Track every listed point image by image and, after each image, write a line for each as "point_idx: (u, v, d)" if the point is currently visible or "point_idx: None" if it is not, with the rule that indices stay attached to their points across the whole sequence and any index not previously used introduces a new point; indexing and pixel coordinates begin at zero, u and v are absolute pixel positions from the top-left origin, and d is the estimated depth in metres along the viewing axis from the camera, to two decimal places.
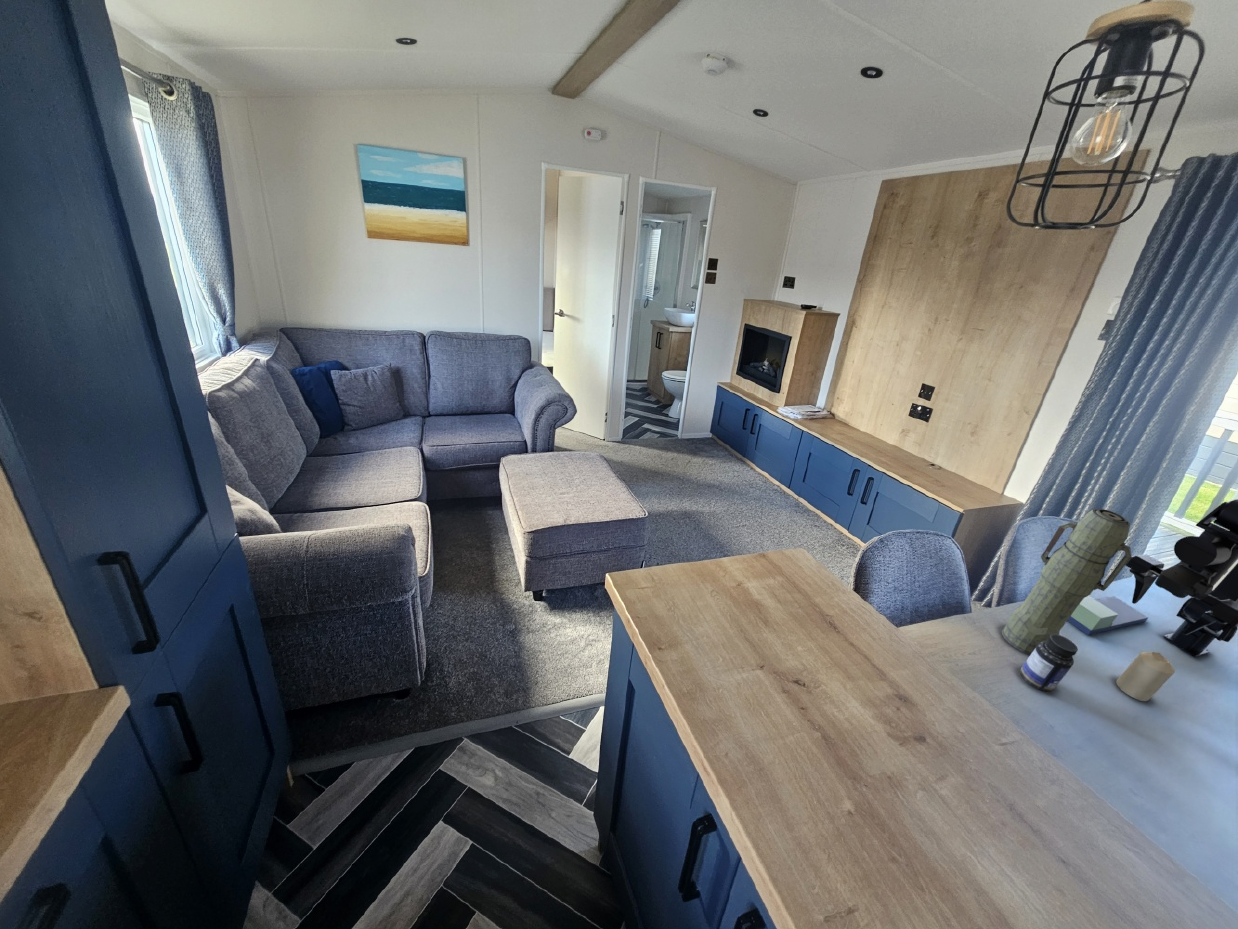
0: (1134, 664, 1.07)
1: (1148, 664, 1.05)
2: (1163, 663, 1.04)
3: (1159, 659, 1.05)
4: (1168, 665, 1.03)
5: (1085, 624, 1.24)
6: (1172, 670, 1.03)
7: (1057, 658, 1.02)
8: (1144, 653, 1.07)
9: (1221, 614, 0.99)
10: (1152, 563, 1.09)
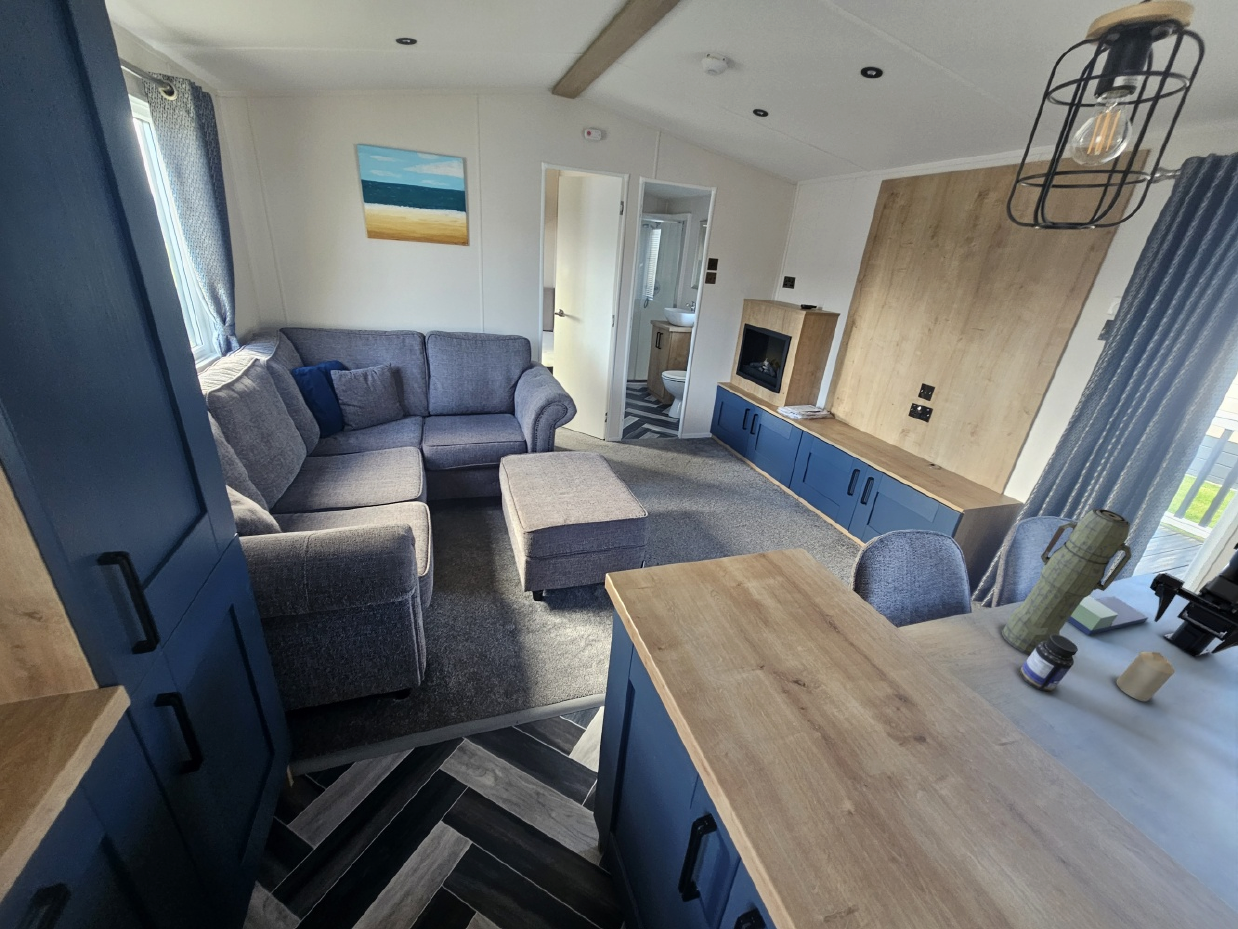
0: (1134, 664, 1.07)
1: (1148, 664, 1.05)
2: (1163, 663, 1.04)
3: (1159, 659, 1.05)
4: (1168, 665, 1.03)
5: (1085, 624, 1.24)
6: (1172, 670, 1.03)
7: (1057, 658, 1.02)
8: (1144, 653, 1.07)
9: None
10: None
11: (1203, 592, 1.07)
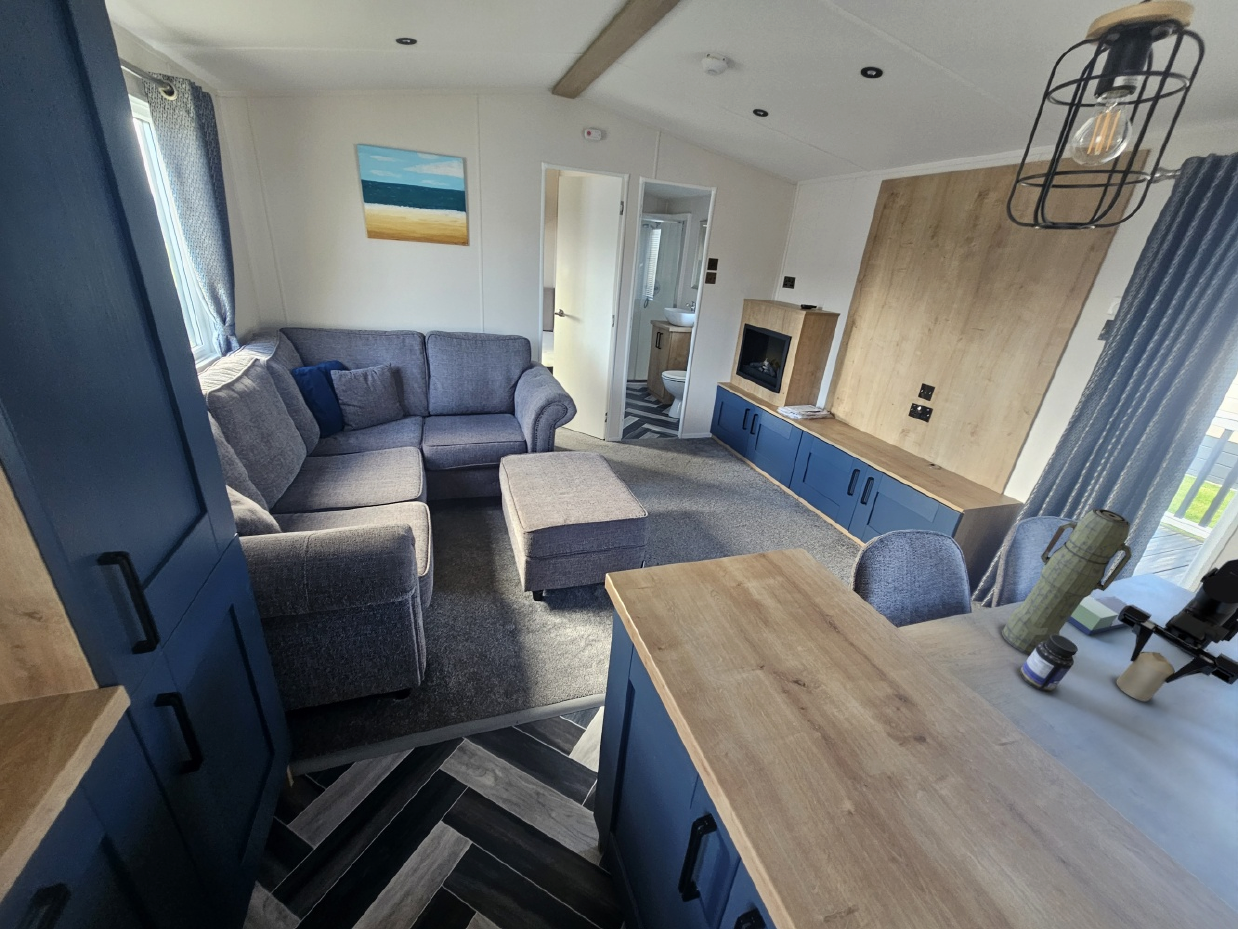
0: (1134, 664, 1.07)
1: (1148, 664, 1.05)
2: (1163, 663, 1.04)
3: (1159, 659, 1.05)
4: (1168, 665, 1.03)
5: (1085, 624, 1.24)
6: (1172, 670, 1.03)
7: (1057, 658, 1.02)
8: (1144, 653, 1.07)
9: (1227, 664, 0.99)
10: None
11: (1169, 626, 1.06)
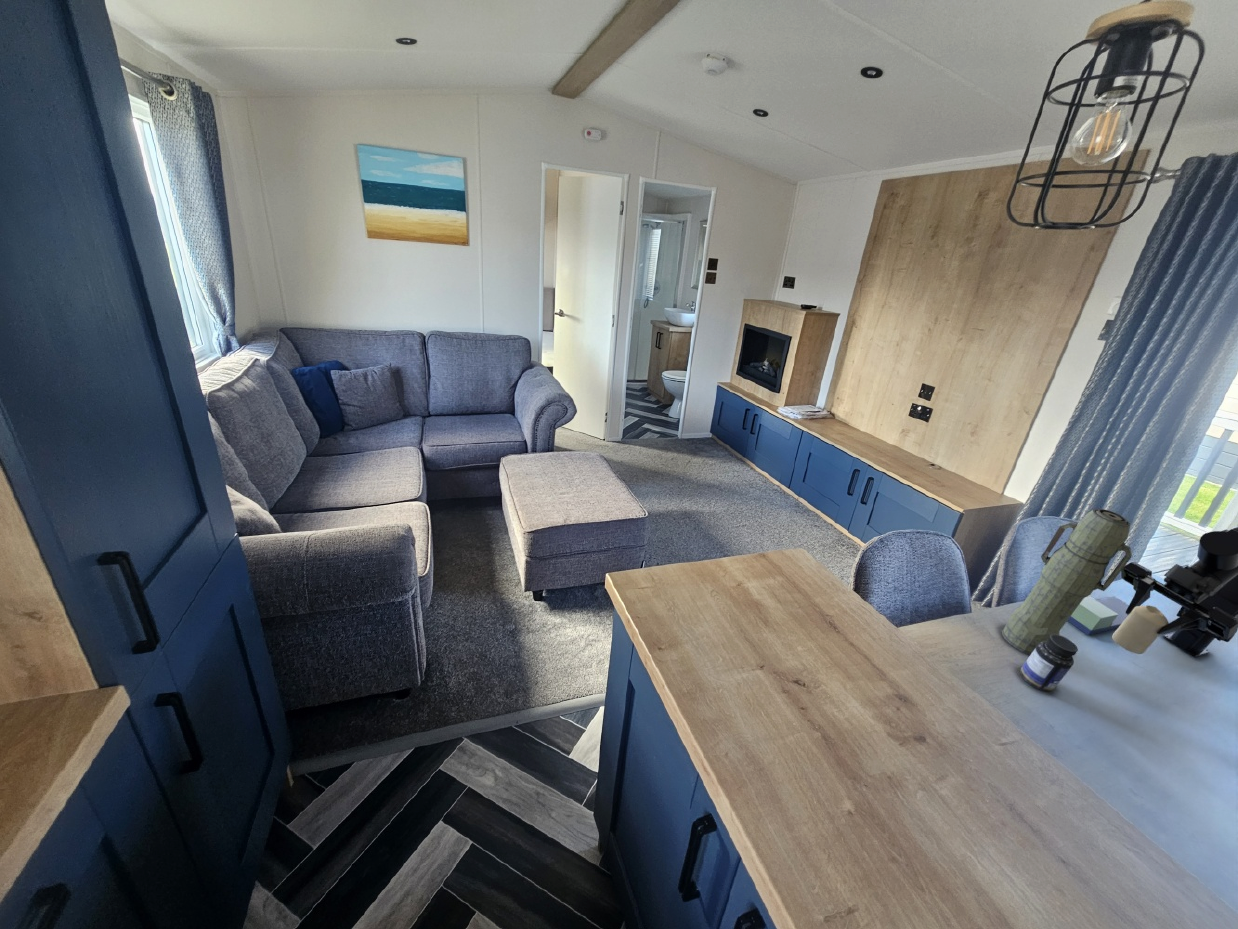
0: (1128, 617, 1.10)
1: (1140, 615, 1.08)
2: (1155, 615, 1.06)
3: (1154, 612, 1.08)
4: (1160, 617, 1.06)
5: (1085, 624, 1.24)
6: (1165, 622, 1.06)
7: (1057, 658, 1.02)
8: (1139, 606, 1.09)
9: (1219, 616, 1.00)
10: None
11: (1167, 581, 1.08)
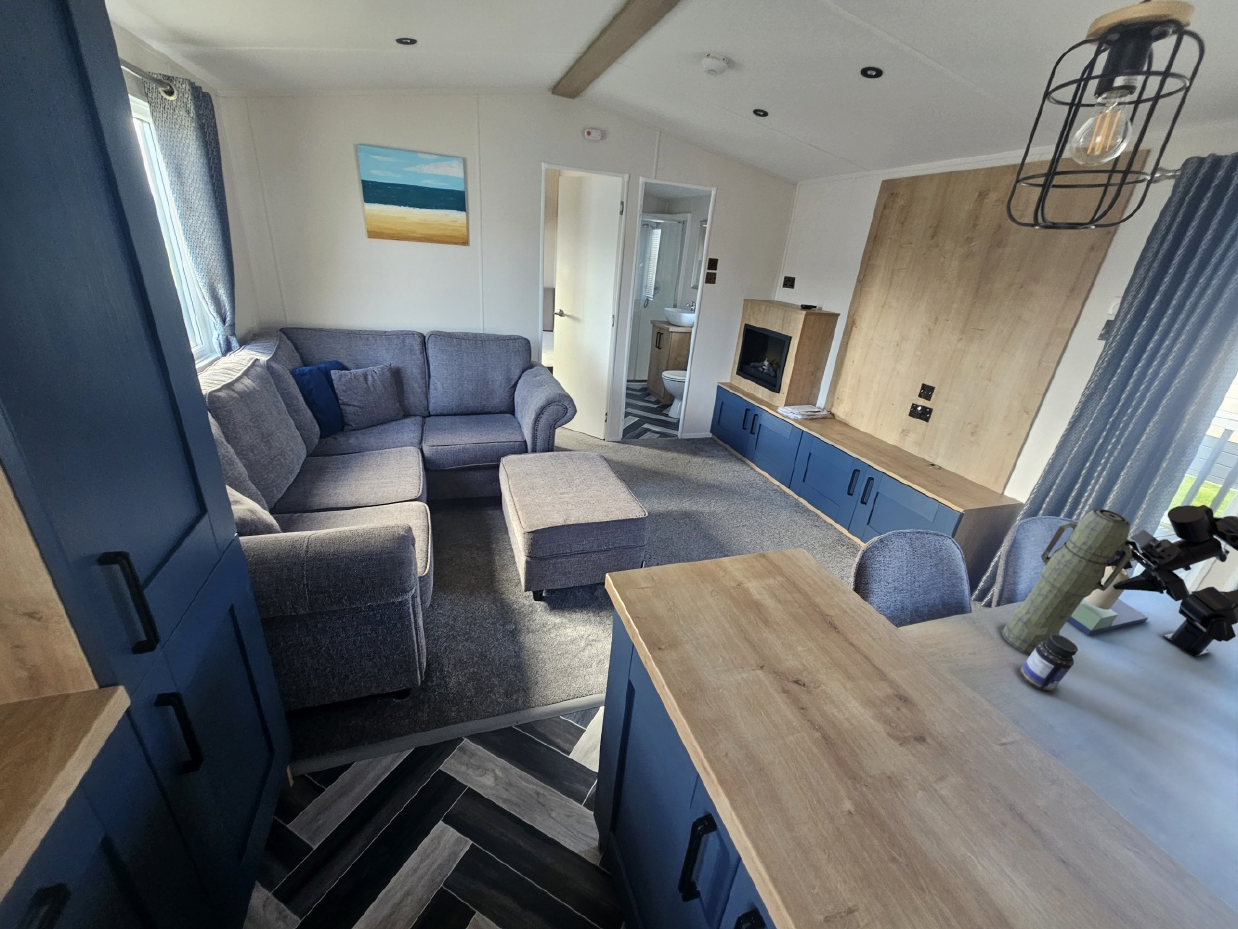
0: None
1: None
2: None
3: None
4: (1119, 573, 1.20)
5: (1085, 624, 1.24)
6: (1122, 579, 1.19)
7: (1057, 658, 1.02)
8: None
9: (1165, 575, 1.12)
10: None
11: (1141, 549, 1.20)
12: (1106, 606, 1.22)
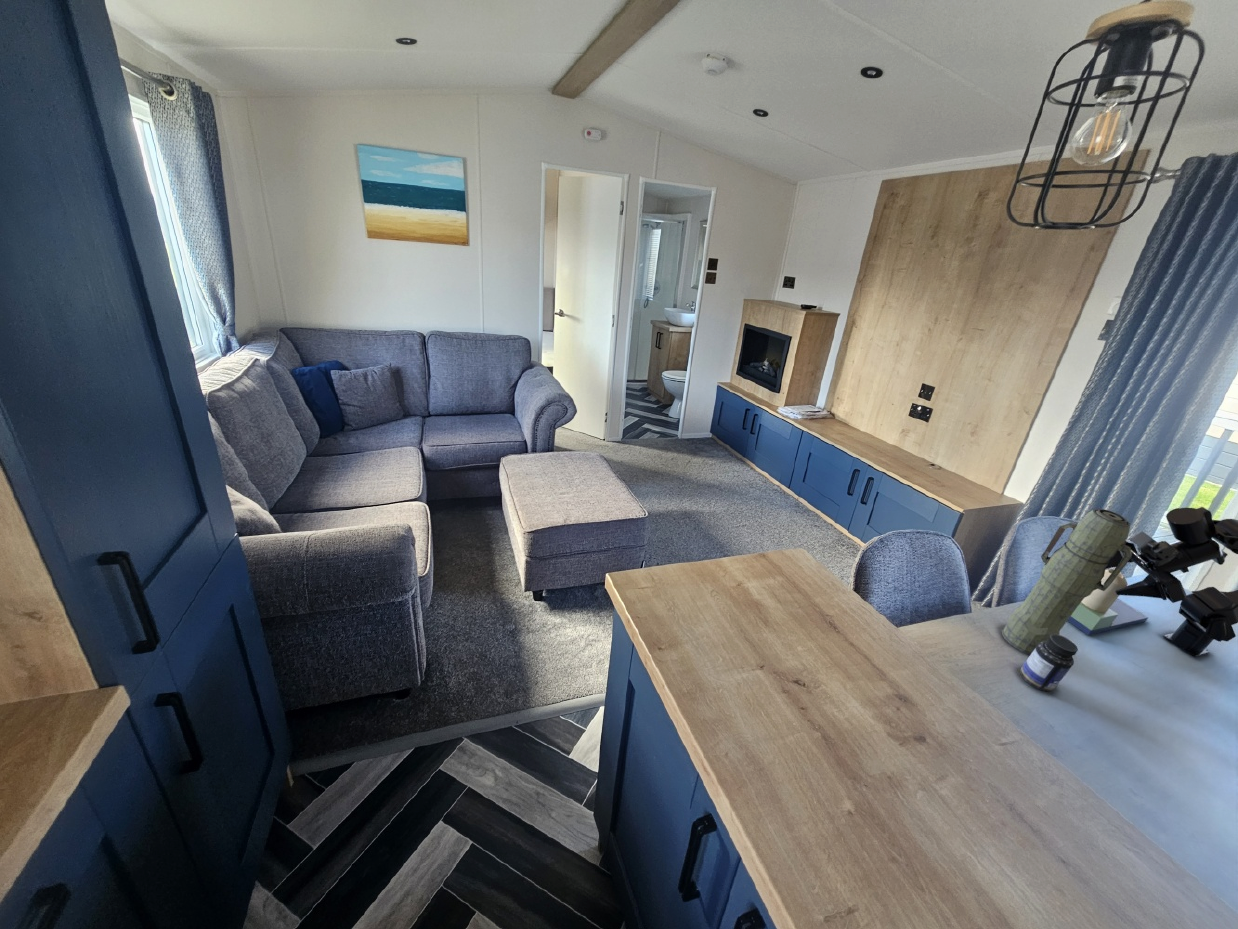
0: None
1: None
2: None
3: None
4: (1116, 577, 1.20)
5: (1085, 624, 1.24)
6: (1119, 582, 1.20)
7: (1057, 658, 1.02)
8: None
9: (1162, 576, 1.13)
10: None
11: (1139, 550, 1.20)
12: (1103, 609, 1.23)
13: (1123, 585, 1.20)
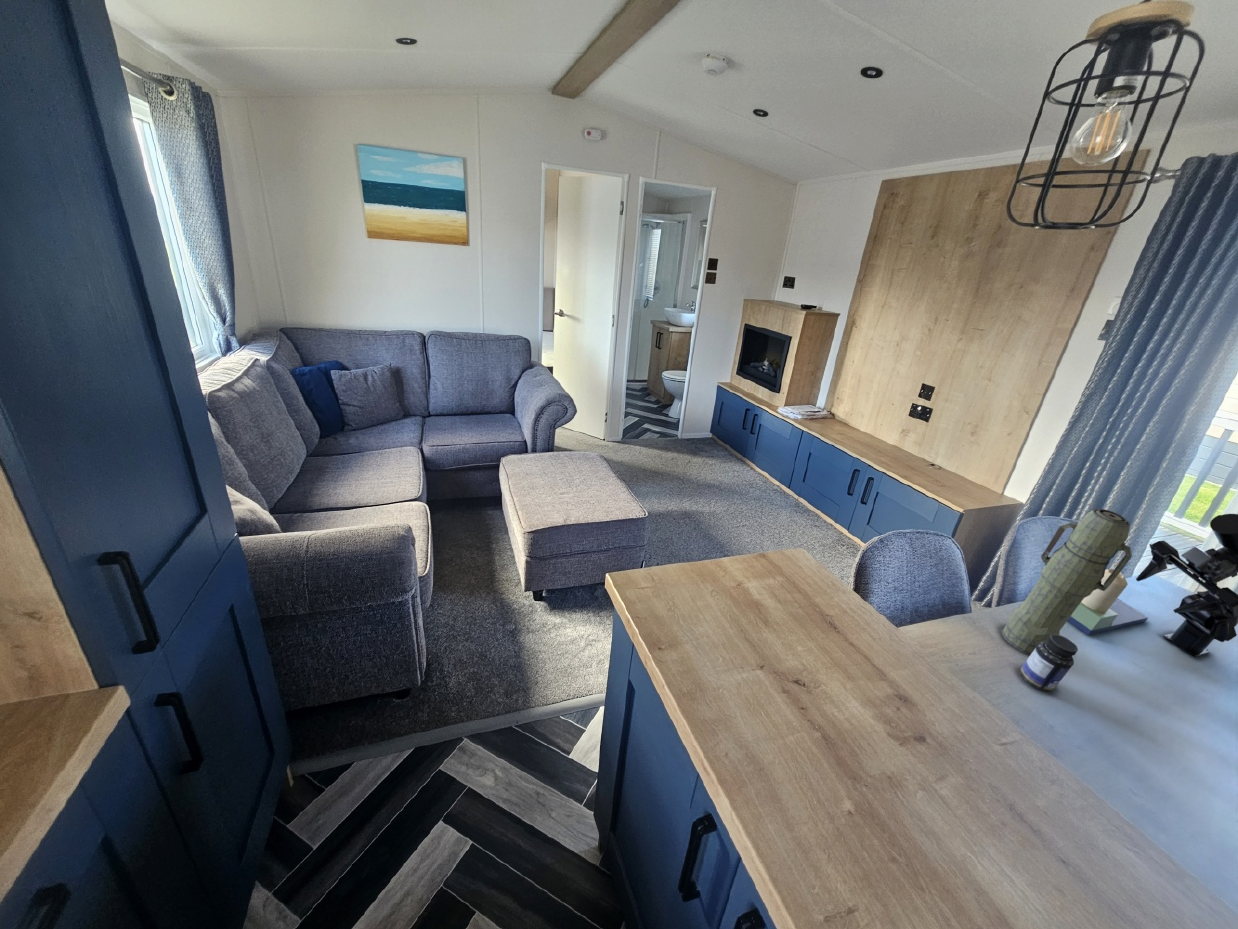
0: None
1: None
2: None
3: None
4: (1116, 577, 1.20)
5: (1085, 624, 1.24)
6: (1119, 582, 1.20)
7: (1057, 658, 1.02)
8: None
9: (1225, 595, 1.10)
10: None
11: (1188, 561, 1.17)
12: (1103, 609, 1.23)
13: (1123, 585, 1.20)
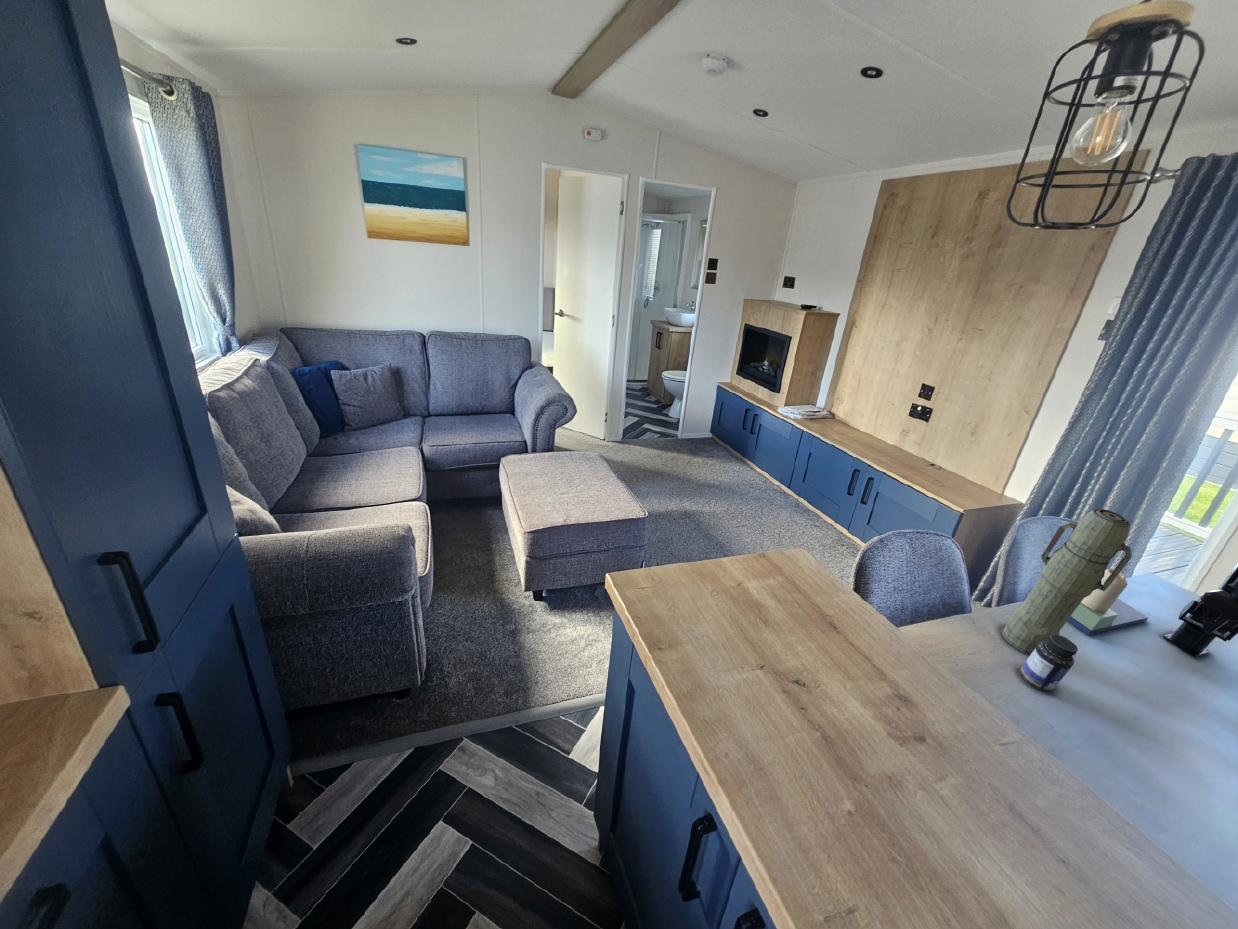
0: None
1: None
2: None
3: None
4: (1116, 577, 1.20)
5: (1085, 624, 1.24)
6: (1119, 582, 1.20)
7: (1057, 658, 1.02)
8: None
9: None
10: None
11: None
12: (1103, 609, 1.23)
13: (1123, 585, 1.20)
